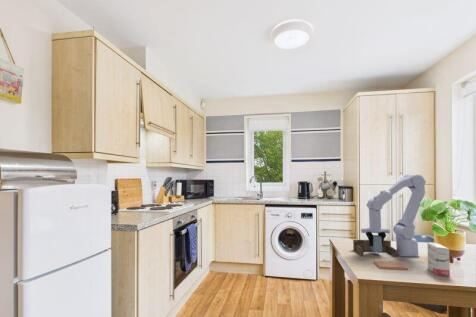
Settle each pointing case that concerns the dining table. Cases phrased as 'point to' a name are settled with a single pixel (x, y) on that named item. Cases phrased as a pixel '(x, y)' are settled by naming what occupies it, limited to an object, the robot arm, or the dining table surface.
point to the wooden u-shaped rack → (365, 246)
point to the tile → (390, 265)
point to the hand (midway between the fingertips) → (376, 246)
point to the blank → (377, 244)
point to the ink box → (438, 259)
